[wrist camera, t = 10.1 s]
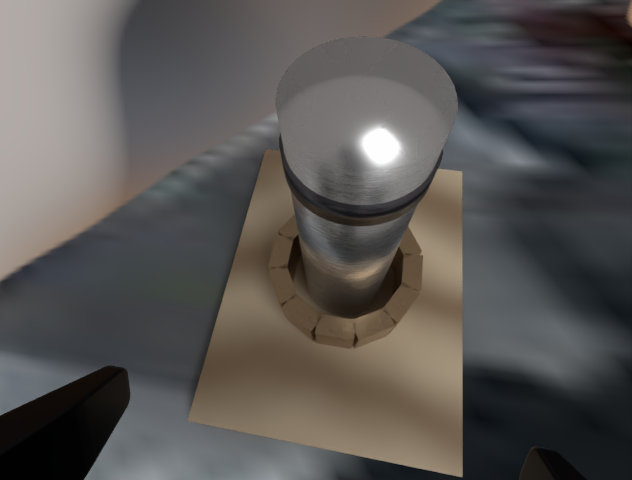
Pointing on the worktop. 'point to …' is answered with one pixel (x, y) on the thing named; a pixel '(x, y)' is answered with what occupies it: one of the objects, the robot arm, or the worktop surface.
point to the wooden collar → (337, 328)
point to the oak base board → (341, 363)
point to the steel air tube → (359, 158)
